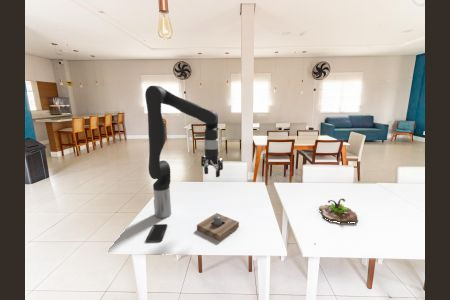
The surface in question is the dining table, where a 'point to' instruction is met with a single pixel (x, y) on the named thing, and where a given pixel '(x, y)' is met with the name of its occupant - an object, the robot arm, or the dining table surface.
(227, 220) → the end holder
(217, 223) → the connector plug
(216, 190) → the dining table surface
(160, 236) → the phone
